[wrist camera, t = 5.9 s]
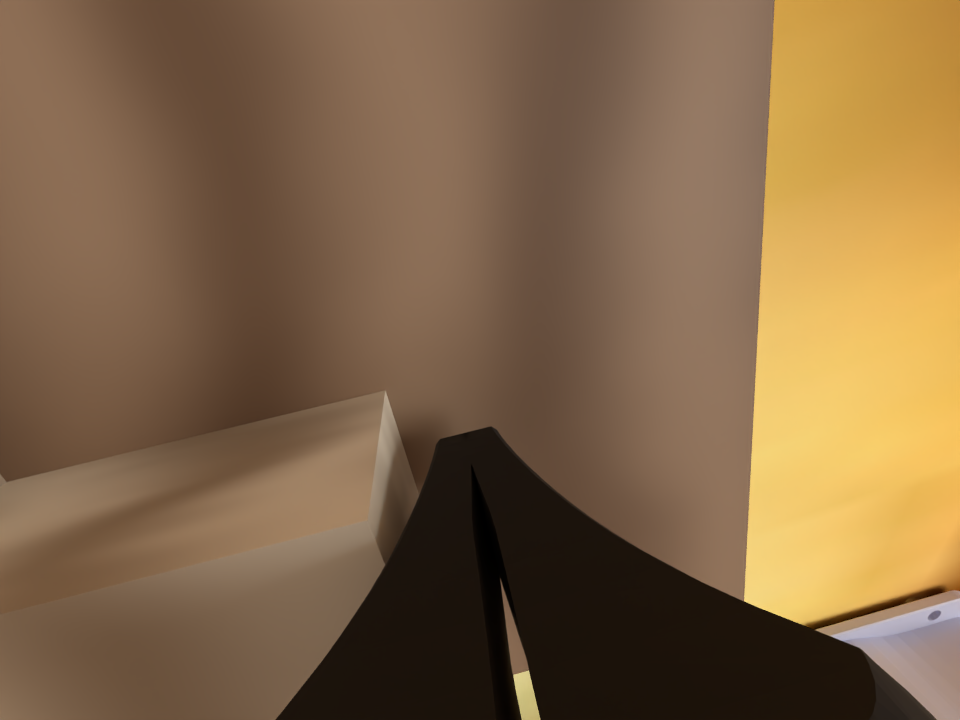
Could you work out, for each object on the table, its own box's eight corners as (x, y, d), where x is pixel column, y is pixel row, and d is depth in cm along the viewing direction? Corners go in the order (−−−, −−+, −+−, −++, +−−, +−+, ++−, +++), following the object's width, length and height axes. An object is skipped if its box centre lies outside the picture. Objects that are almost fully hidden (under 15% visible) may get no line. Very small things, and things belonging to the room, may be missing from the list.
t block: (323, 197, 8) (247, 210, 4) (463, 632, 13) (483, 817, 9) (-387, 352, 7) (-1171, 519, 4) (36, 749, 12) (-128, 997, 8)
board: (740, -116, 8) (782, -155, 7) (723, 583, 15) (743, 609, 14) (-597, 142, 7) (-754, 136, 6) (64, 767, 14) (39, 808, 13)
